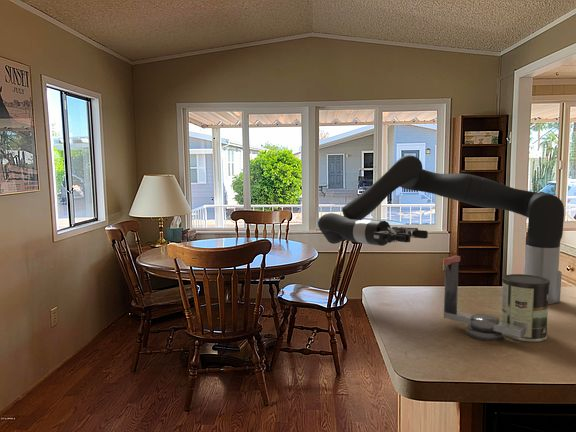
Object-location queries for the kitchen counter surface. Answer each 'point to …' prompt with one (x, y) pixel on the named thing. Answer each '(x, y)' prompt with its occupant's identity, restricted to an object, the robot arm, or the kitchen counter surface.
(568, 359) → the kitchen counter surface
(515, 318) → the coffee can
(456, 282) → the crank
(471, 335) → the base
